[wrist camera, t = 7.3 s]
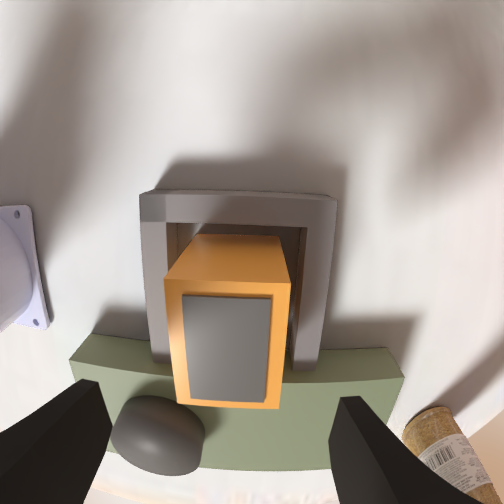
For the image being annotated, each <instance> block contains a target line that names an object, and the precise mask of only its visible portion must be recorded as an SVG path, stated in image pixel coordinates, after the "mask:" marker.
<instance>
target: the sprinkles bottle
mask: <svg viewBox="0 0 504 504" xmlns="http://www.w3.org/2000/svg"><path fill="white" fill-rule="evenodd" d="M402 440H403V442H404V444H405V445H406V446H407V448H408V449H409V450H410V451H411V452H412V453H413V454H414V455H415V456H417V457H418V458H419V459H420V460H421V461H422V462H423V463H424V464H425V465H427V466H428V467H429V468H430V469H431V470H432V471H434V472H435V473H436V474H438V475H439V476H440V477H442V478H443V479H444V480H446V481H447V482H449V483H450V484H451V485H453V486H454V487H456V488H457V489H459V490H460V491H462V492H464V493H465V494H467V495H469V496H471V497H473V498H474V499H476V500H478V501H480V502H482V503H484V504H502V502H501V501H500V498H499V496H498V495H497V493H496V491H495V489H494V487H493V484H492V482H491V480H490V478H489V476H488V474H487V473H486V471H485V469H484V467H483V465H482V464H481V462H480V460H479V459H478V457H477V455H476V453H475V452H474V450H473V448H472V446H471V445H470V443H469V441H468V440H467V438H466V436H465V435H463V433H462V431H461V429H460V428H459V426H458V425H457V423H456V422H455V420H454V418H453V417H452V413H451V411H450V410H449V409H448V408H446V407H434V408H432V409H428V410H426V411H424V412H423V413H421V414H419V415H418V416H416V417H415V418H414V419H413V420H412V421H411V422H410V423H409V424H408V425H407V426H406V428H405V429H404V432H403V435H402Z"/></svg>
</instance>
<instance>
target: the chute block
mask: <svg viewBox="0 0 504 504" xmlns="http://www.w3.org/2000/svg"><path fill="white" fill-rule="evenodd" d="M290 289H291V282H290V278H289V274H288V270H287V266H286V262H285V258H284V254H283V250H282V247H281V243H280V239H279V236H262V235H229V234H196V235H195V237H194V238H193V239H192V241H191V242H190V243H189V245H188V246H187V247H186V249H185V250H184V251H183V253H182V254H181V255H180V257H179V258H178V259H177V261H176V262H175V263H174V265H173V266H172V268H171V269H170V270H169V272H168V273H167V274H166V276H165V277H164V292H165V304H166V315H167V325H168V334H169V343H170V352H171V360H172V368H173V376H174V383H175V390H176V397H177V403H179V404H188V405H199V406H211V407H227V408H249V409H279V403H280V394H281V385H282V375H283V366H284V356H285V346H286V335H287V324H288V313H289V301H290Z"/></svg>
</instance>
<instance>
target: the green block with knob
mask: <svg viewBox="0 0 504 504" xmlns="http://www.w3.org/2000/svg"><path fill="white" fill-rule="evenodd" d="M337 202H338V201H337V200H335V199H333V198H332V197H330V196H328V195H318V194H302V193H284V192H263V191H235V190H185V189H153V190H150V191H148V192H145V193H142V194H139V205H140V232H141V250H142V265H143V277H144V289H145V299H146V309H147V318H148V326H149V334H150V341H144V340H136V339H127V338H120V337H112V336H105V335H98V334H92V333H90V335H89V336H88V337H87V338H86V339H85V341H84V342H83V343H82V344H81V345H80V347H79V348H78V349H77V350H76V352H75V353H74V354H73V355H72V357H71V358H70V359H69V362H70V366H71V369H72V372H73V375H74V379H75V382H77V381H79V380H80V379H87V380H92V381H97V382H99V386H100V389H101V392H102V395H103V398H104V402H105V405H106V408H107V410H108V413H109V416H110V419H111V422H112V425H113V428H112V431H111V435H110V439H109V442H108V445H107V449H106V451H109V452H113V453H117V454H120V455H121V456H122V457H123V458H124V459H125V460H127V461H128V462H130V463H131V464H133V465H134V466H136V467H138V468H140V469H143V470H145V471H148V472H151V473H155V474H159V475H165V476H180V475H186V474H189V473H191V472H193V471H194V470H196V469H197V468H198V467H201V468H212V469H224V470H242V471H303V470H320V469H331V463H330V454H329V445H328V439H329V435H330V432H331V429H332V425H333V422H334V418H335V414H336V411H337V407H338V403H339V399H340V397H347V396H361V397H362V398H363V400H364V401H365V402H366V403H367V404H368V405H369V406H370V408H371V409H372V410H373V411H374V412H375V413H376V415H377V416H378V417H379V418H380V419H381V420H382V421H383V422H384V424H385V425H386V424H387V422H388V419H389V417H390V415H391V412H392V410H393V407H394V405H395V402H396V400H397V397H398V395H399V392H400V389H401V387H402V384H403V381H404V378H405V377H404V375H403V373H402V371H401V370H400V368H399V366H398V365H397V363H396V361H395V360H394V358H393V356H392V355H391V353H390V351H389V350H388V348H367V349H334V350H319V347H320V341H321V335H322V329H323V322H324V316H325V309H326V302H327V294H328V287H329V279H330V271H331V263H332V254H333V245H334V235H335V225H336V214H337ZM177 223H210V224H240V225H265V226H288V227H301V229H300V243H299V255H298V267H297V278H296V289H295V299H294V310H293V319H292V329H291V338H290V347H289V350H285V356H284V366H283V375H282V385H281V394H280V403H279V409H249V408H227V407H211V406H199V405H188V404H179V403H177V397H176V390H175V383H174V376H173V368H172V360H171V352H170V343H169V334H168V325H167V315H166V304H165V292H164V277H165V276H166V274H167V273H168V272H169V270H170V269H171V268H172V266H173V265H174V263H175V262H176V261H177V259H178V242H177Z"/></svg>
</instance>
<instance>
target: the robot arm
mask: <svg viewBox="0 0 504 504" xmlns="http://www.w3.org/2000/svg"><path fill="white" fill-rule="evenodd" d="M18 211H19V213H20V217H19V215H18ZM36 319H37V320H38V321H37V320H36ZM11 323H14V324H19V325H23V326H28V327H32V328H37V329H42V330H46V329H47V328H48V327H49V326H50V321H49V317H48V312H47V308H46V304H45V299H44V294H43V289H42V284H41V279H40V273H39V267H38V261H37V254H36V247H35V239H34V231H33V221H32V212H31V209H30V207H29V206H28V205H13V206H0V333H1V332H2V331H3V330H4V329H5V328H7V327H8V326H9V325H10V324H11ZM112 428H113V425H112V422H111V419H110V416H109V413H108V410H107V408H106V405H105V402H104V398H103V395H102V392H101V389H100V386H99V382H97V381H92V380H87V379H80V380H79V381H77V382H76V383H74V384H73V385H71V386H70V387H69V388H67V389H66V390H64V391H63V392H62V393H60V394H59V395H57V396H56V397H55V398H53V399H52V400H50V401H49V402H48V403H46V404H45V405H43V406H42V407H40V408H39V409H38V410H36V411H35V412H33V413H32V414H30V415H29V416H27V417H25V418H24V419H22V420H21V421H19V422H17V423H16V424H14V425H13V426H11V427H9V428H8V429H6V430H4V431H2V432H1V433H0V504H83V503H84V500H85V498H86V495H87V493H88V491H89V489H90V486H91V484H92V482H93V479H94V477H95V475H96V473H97V470H98V468H99V466H100V464H101V461H102V459H103V457H104V454H105V452H106V449H107V445H108V442H109V439H110V435H111V431H112ZM328 445H329V454H330V463H331V470H332V474H333V478H334V482H335V486H336V490H337V494H338V498H339V502H340V504H484V503H482V502H480V501H478V500H476V499H474V498H473V497H471V496H469V495H467V494H465V493H464V492H462V491H460V490H459V489H457V488H456V487H454V486H453V485H451V484H450V483H449V482H447V481H446V480H444V479H443V478H442V477H440V476H439V475H438V474H436V473H435V472H434V471H432V470H431V469H430V468H429V467H428V466H427V465H425V464H424V463H423V462H422V461H421V460H420V459H419V458H418V457H417V456H415V455H414V454H413V453H412V452H411V451H410V450H409V449H408V448H407V447H406V446H405V445H404V444H403V443H402V442H401V441H400V440H399V439H398V438H397V437H396V436H395V435H394V433H393V432H392V431H391V430H390V429H389V428H388V427H387V426H386V425H385V424H384V422H383V421H382V420H381V419H380V418H379V417H378V416H377V415H376V413H375V412H374V411H373V410H372V409H371V408H370V406H369V405H368V404H367V403H366V402H365V401H364V400H363V398H362V397H361V396H347V397H340V399H339V403H338V407H337V411H336V414H335V418H334V422H333V425H332V429H331V432H330V435H329V439H328Z"/></svg>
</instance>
